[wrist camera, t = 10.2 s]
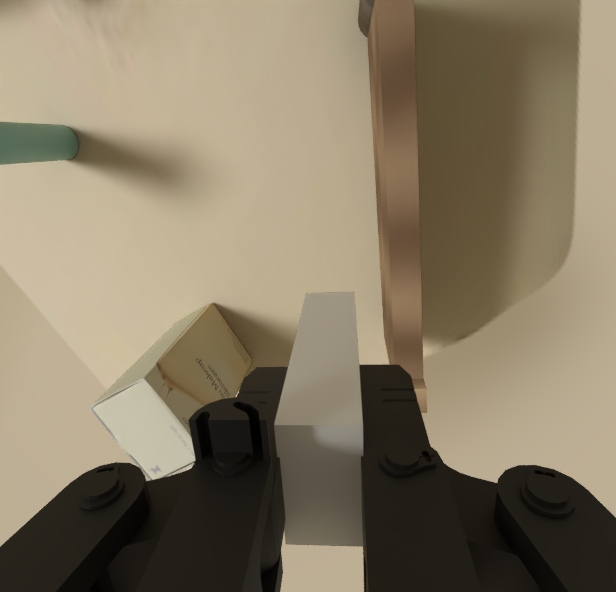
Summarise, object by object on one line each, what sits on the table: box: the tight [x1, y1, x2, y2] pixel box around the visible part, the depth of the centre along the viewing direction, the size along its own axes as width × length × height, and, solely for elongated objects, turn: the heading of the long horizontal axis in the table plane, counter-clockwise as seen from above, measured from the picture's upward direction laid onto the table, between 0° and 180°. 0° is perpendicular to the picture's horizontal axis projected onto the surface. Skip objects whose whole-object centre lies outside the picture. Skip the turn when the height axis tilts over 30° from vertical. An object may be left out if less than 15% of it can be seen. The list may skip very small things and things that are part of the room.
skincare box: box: [90, 303, 252, 481], centre depth 30 cm, size 6×4×12 cm
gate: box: [358, 0, 427, 413], centre depth 24 cm, size 22×2×13 cm, turn 6°
